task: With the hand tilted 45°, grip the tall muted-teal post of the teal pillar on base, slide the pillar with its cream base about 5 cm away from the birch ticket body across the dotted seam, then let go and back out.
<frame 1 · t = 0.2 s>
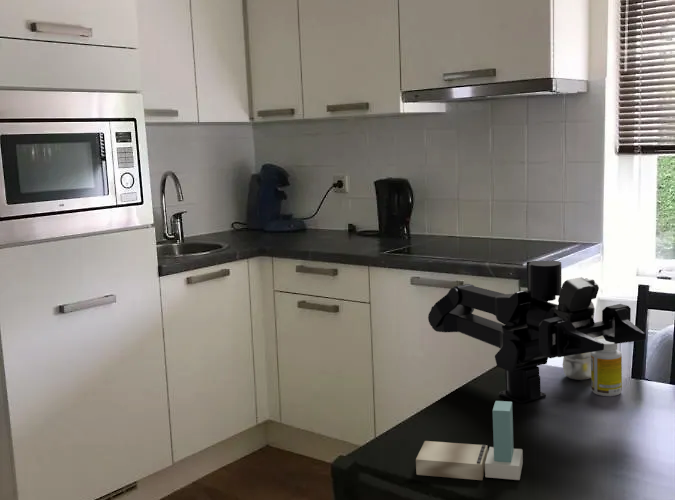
hand: (624, 341, 120), 17 cm above the table, tool horizontal, fingers open, 9 cm apart
ticket body: (452, 467, 116), on the table
supplement bottle: (606, 393, 144), on the table
teal pillar on base: (503, 438, 113), point 5 cm above the table, slide at 0.0 cm
plastic bottle: (579, 379, 153), on the table
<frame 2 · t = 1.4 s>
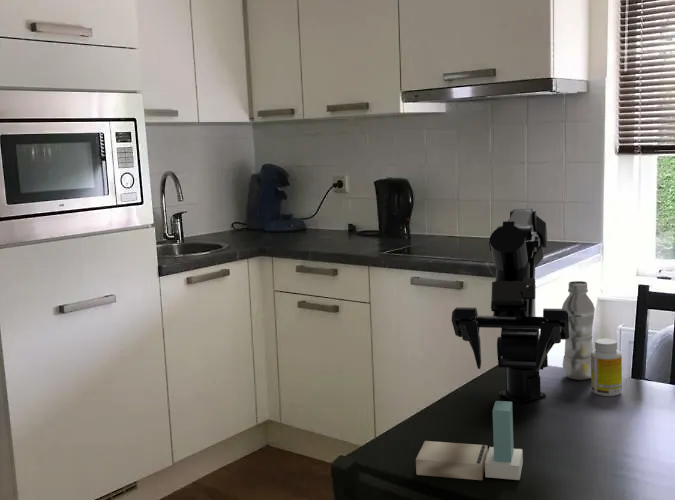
hand: (507, 368, 119), 14 cm above the table, tool tilted 45°, fingers open, 9 cm apart
nothing on the table moved.
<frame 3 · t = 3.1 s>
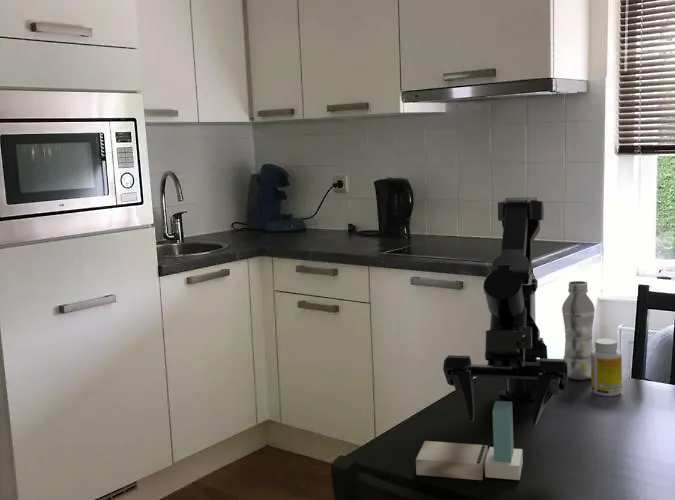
hand: (502, 423, 112), 8 cm above the table, tool tilted 45°, fingers open, 9 cm apart
nothing on the table moved.
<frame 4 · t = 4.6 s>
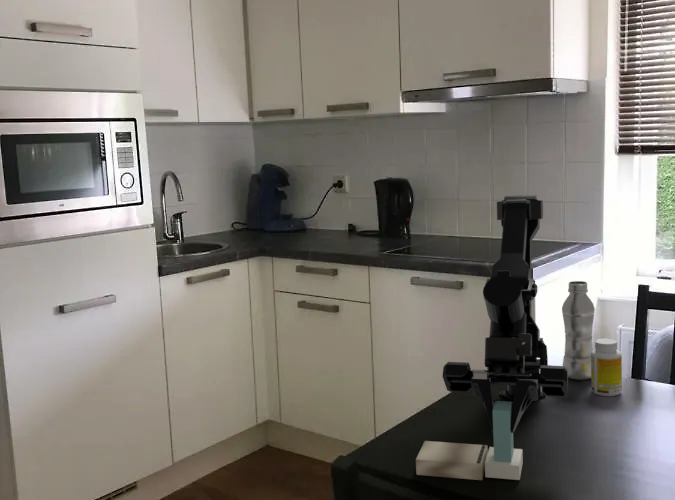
hand: (502, 431, 111), 7 cm above the table, tool tilted 45°, fingers closed on teal pillar on base, 2 cm apart
teal pillar on base: (503, 438, 113), point 5 cm above the table, slide at 0.0 cm, touching gripper
everything else where it was.
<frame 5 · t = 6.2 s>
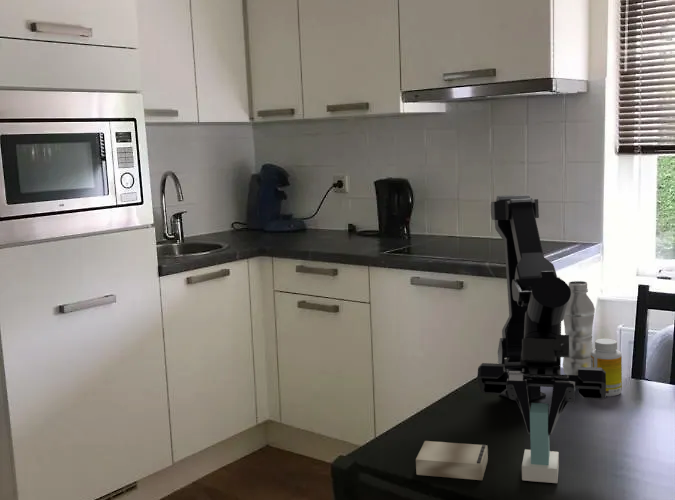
hand: (539, 433, 110), 7 cm above the table, tool tilted 45°, fingers closed on teal pillar on base, 2 cm apart
teal pillar on base: (540, 440, 111), point 5 cm above the table, slide at 5.4 cm, touching gripper
everything else where it was.
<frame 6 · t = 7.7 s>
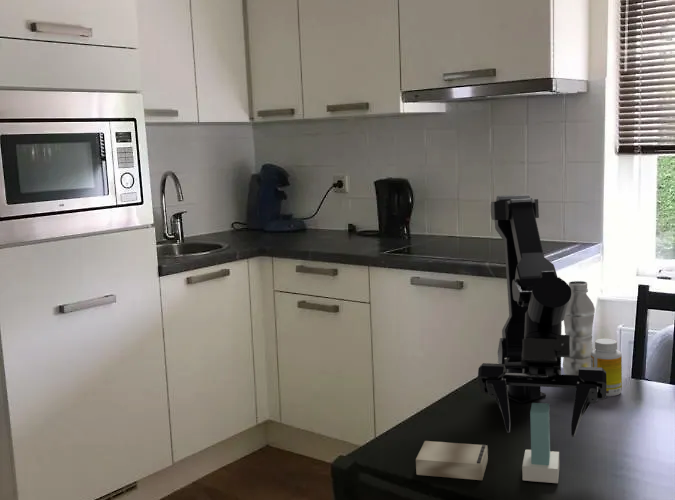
hand: (540, 433, 110), 7 cm above the table, tool tilted 45°, fingers open, 9 cm apart
teal pillar on base: (540, 440, 111), point 5 cm above the table, slide at 5.4 cm
everything else where it was.
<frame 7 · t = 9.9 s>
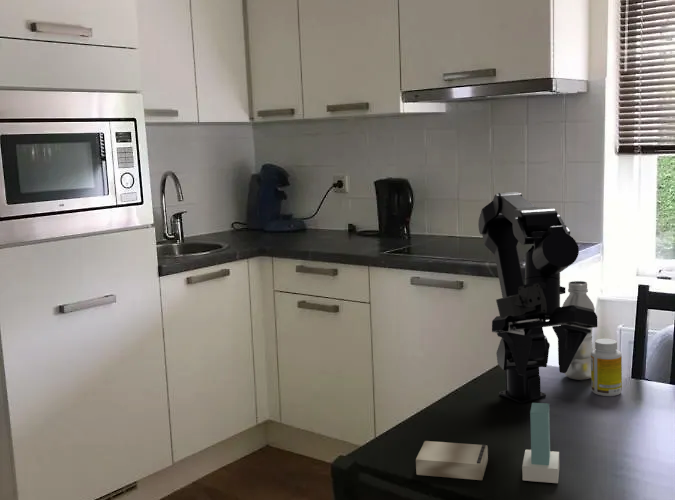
hand: (541, 373, 122), 12 cm above the table, tool tilted 25°, fingers open, 9 cm apart
nothing on the table moved.
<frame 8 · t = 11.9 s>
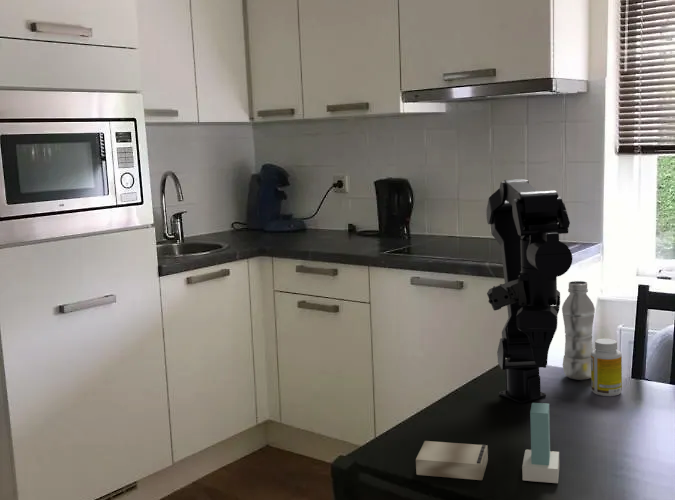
hand: (540, 356, 127), 13 cm above the table, tool pointing down, fingers open, 9 cm apart
nothing on the table moved.
at the end: teal pillar on base slide at 5.4 cm; the gripper is holding nothing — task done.
